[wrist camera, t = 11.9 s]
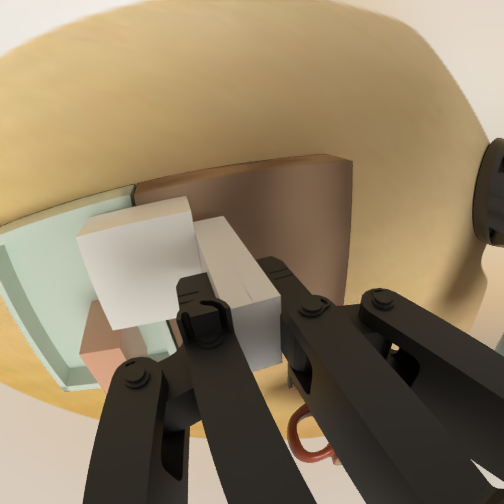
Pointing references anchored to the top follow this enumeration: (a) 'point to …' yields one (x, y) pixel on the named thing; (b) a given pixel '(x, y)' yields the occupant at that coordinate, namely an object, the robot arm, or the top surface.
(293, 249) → the board
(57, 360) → the tray
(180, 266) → the tile white
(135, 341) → the tile terracotta
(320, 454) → the mug
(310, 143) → the top surface
